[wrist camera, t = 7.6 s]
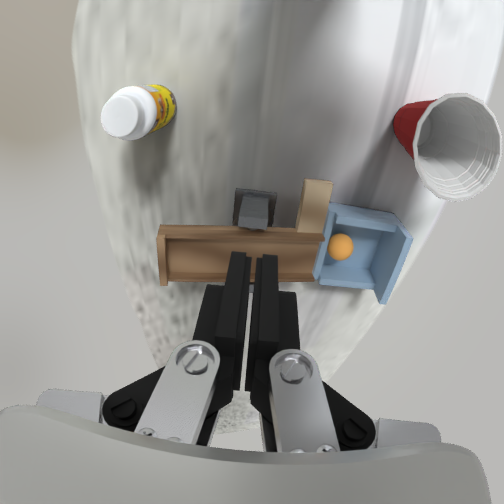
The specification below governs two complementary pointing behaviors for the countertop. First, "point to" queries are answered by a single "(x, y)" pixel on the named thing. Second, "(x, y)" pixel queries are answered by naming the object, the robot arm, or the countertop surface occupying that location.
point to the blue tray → (363, 250)
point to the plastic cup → (451, 144)
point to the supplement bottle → (138, 111)
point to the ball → (340, 246)
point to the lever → (246, 244)
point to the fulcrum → (254, 211)
